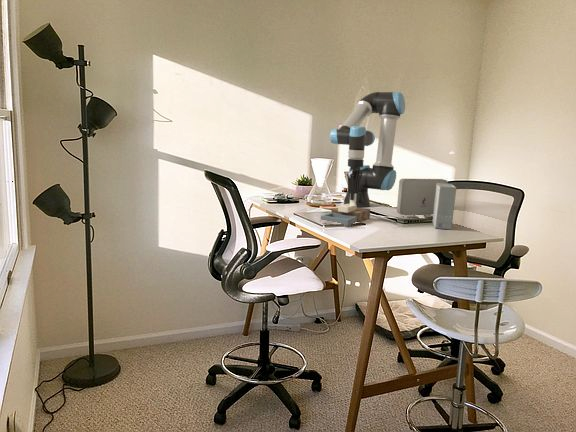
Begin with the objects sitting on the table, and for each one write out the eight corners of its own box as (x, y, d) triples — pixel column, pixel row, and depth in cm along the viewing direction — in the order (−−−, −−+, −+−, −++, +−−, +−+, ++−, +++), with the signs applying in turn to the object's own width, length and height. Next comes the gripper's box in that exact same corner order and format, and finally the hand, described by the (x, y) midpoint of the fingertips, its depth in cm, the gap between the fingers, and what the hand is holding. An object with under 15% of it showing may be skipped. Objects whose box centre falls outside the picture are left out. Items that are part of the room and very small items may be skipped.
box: (330, 219, 229) (330, 212, 228) (356, 223, 221) (357, 216, 220) (320, 222, 220) (320, 215, 220) (347, 227, 213) (347, 219, 212)
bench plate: (344, 215, 241) (345, 205, 240) (369, 219, 234) (370, 209, 233) (330, 219, 229) (331, 209, 228) (356, 223, 221) (357, 213, 220)
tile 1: (342, 209, 228) (342, 204, 228) (351, 211, 225) (352, 206, 225) (337, 211, 224) (338, 206, 224) (347, 212, 221) (347, 207, 221)
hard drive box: (451, 230, 216) (456, 187, 212) (434, 228, 218) (439, 186, 214) (447, 223, 231) (452, 183, 227) (431, 222, 233) (435, 182, 229)
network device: (401, 219, 237) (404, 180, 233) (393, 215, 245) (397, 177, 241) (446, 218, 243) (450, 180, 239) (437, 215, 251) (441, 178, 247)
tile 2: (347, 208, 232) (347, 203, 232) (356, 209, 230) (356, 204, 229) (342, 209, 228) (342, 204, 228) (351, 211, 226) (352, 206, 225)
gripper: (354, 157, 234) (351, 203, 239) (342, 158, 223) (339, 207, 228) (368, 158, 230) (364, 205, 235) (357, 159, 219) (353, 209, 224)
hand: (352, 206), depth 231 cm, fingers closed
